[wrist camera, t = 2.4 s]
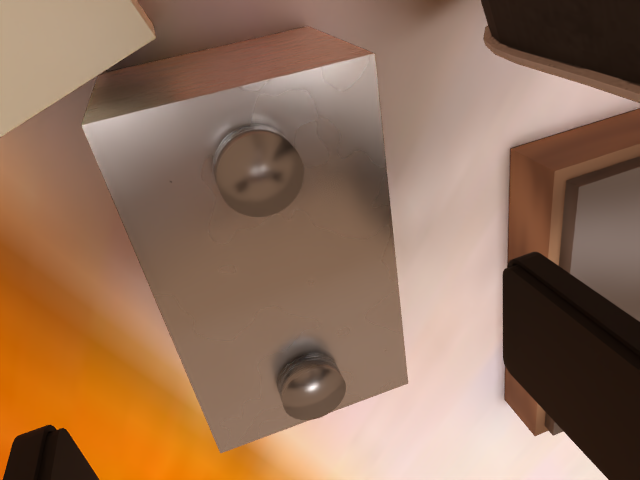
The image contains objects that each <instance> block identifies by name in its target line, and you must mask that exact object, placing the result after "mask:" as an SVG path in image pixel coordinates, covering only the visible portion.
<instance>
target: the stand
mask: <svg viewBox="0 0 640 480" xmlns="http://www.w3.org/2000/svg"><path fill="white" fill-rule="evenodd" d="M531 252H539V253H541V254H542V255H544V256H545V257H547V258H548V259H549V260H551V261H552V262H554V263H555V264H557V265H558V266H560V267H561V268H563V269H564V270H565V271H567V272H568V273H570V274H571V275H573V276H574V277H576V278H577V279H578V280H580V281H581V282H583V283H584V284H586V285H587V286H589V287H590V288H591V289H593V290H594V291H596V292H597V293H599V294H600V295H602V296H603V297H605V298H606V299H607V300H609V301H610V302H612V303H613V304H615V305H616V306H618V307H619V308H620V309H622V310H623V311H625V312H626V313H628V314H629V315H631V316H632V317H634V318H635V319H636V320H638V321H639V322H640V109H637V110H634V111H631V112H628V113H624V114H621V115H618V116H615V117H611V118H608V119H605V120H602V121H599V122H595V123H592V124H589V125H586V126H582V127H579V128H576V129H573V130H569V131H566V132H563V133H560V134H557V135H553V136H550V137H547V138H544V139H540V140H537V141H534V142H531V143H527V144H524V145H521V146H518V147H515V148H511V160H510V202H509V244H508V263H509V261H510V260H512V259H514V258H517V257H520V256H523V255H525V254H528V253H531ZM505 401H506V402H507V403H508V404H509V406H510V407H511V408H512V409H513V410H514V412H515V413H516V414H517V415H518V416H519V418H520V419H521V420H522V421H523V422H524V424H525V425H526V426H527V427H528V428H529V430H530V431H531V432H532V433H533V435H534V436H537V435H539V434H541V433H544V432H546V431H548V430H549V431H550V433H551V434H552V435H556V434H558V433H560V432H563V430H562V429H561V428H560V427H559V426H558V425H557V424H556V423H555V422H554V420H553V419H552V418H551V417H550V416H549V415H548V414H547V413H546V412H545V411H544V410H543V409H542V408H541V406H540V405H539V404H538V403H537V402H536V401H535V400H534V399H533V398H532V397H531V396H530V395H529V394H528V393H527V391H526V390H525V389H524V388H523V387H522V386H521V385H520V384H519V383H518V382H517V381H516V380H515V379H514V378H513V376H512V375H511V374H510V373H509V372H508V370H507V368H506V369H505Z"/></svg>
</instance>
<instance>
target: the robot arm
mask: <svg viewBox="0 0 640 480" xmlns="http://www.w3.org/2000/svg"><path fill="white" fill-rule="evenodd" d="M503 360H504V364H505V366H506V368H507V370H508V372H509V373H510V374H511V375H512V376H513V378H514V379H515V380H516V381H517V382H518V383H519V384H520V385H521V386H522V387H523V388H524V389H525V390H526V391H527V393H528V394H529V395H530V396H531V397H532V398H533V399H534V400H535V401H536V402H537V403H538V404H539V405H540V406H541V408H542V409H543V410H544V411H545V412H546V413H547V414H548V415H549V416H550V417H551V418H552V419H553V420H554V422H555V423H556V424H557V425H558V426H559V427H560V428H561V429H562V430H563V431H564V432H565V433H566V434H567V435H568V437H569V438H570V439H571V440H572V441H573V442H574V443H575V444H576V445H577V446H578V447H579V448H580V449H581V450H582V452H583V453H584V454H585V455H586V456H587V457H588V458H589V459H590V460H591V461H592V462H593V463H594V464H595V465H596V467H597V468H598V469H599V470H600V471H601V472H602V473H603V474H604V475H605V476H606V477H607V478H608V479H609V480H640V322H639V321H638V320H636V319H635V318H634V317H632V316H631V315H629V314H628V313H626V312H625V311H623V310H622V309H620V308H619V307H618V306H616V305H615V304H613V303H612V302H610V301H609V300H607V299H606V298H605V297H603V296H602V295H600V294H599V293H597V292H596V291H594V290H593V289H591V288H590V287H589V286H587V285H586V284H584V283H583V282H581V281H580V280H578V279H577V278H576V277H574V276H573V275H571V274H570V273H568V272H567V271H565V270H564V269H563V268H561V267H560V266H558V265H557V264H555V263H554V262H552V261H551V260H549V259H548V258H547V257H545V256H544V255H542V254H541V253H539V252H531V253H528V254H525V255H523V256H520V257H517V258H514V259H512V260H510V261H509V263H508V268H506V269H504V271H503ZM3 480H99V479H98V477H97V476H96V474H95V472H94V471H93V469H92V468H91V466H90V465H89V463H88V462H87V460H86V459H85V457H84V456H83V454H82V453H81V451H80V450H79V448H78V447H77V445H76V443H75V442H74V440H73V439H72V437H71V436H70V434H69V433H68V431H67V430H66V429H64V428H62V429H59V430H56V428H55V427H54V426H52V425H47V426H44V427H41V428H38V429H36V430H33V431H30V432H27V433H24V434H22V435H19V436H17V437H16V438H15V439H14V442H13V444H12V448H11V452H10V455H9V459H8V463H7V466H6V470H5V474H4V477H3Z"/></svg>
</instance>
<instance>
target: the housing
mask: <svg viewBox="0 0 640 480" xmlns="http://www.w3.org/2000/svg"><path fill="white" fill-rule="evenodd" d="M81 126H82V128H83V131H84V133H85V135H86V138H87V140H88V143H89V145H90V147H91V150H92V152H93V154H94V157H95V159H96V161H97V164H98V166H99V168H100V171H101V173H102V175H103V178H104V180H105V183H106V185H107V187H108V190H109V192H110V194H111V197H112V199H113V201H114V204H115V206H116V208H117V211H118V213H119V215H120V218H121V220H122V223H123V225H124V227H125V230H126V232H127V234H128V237H129V239H130V241H131V244H132V246H133V248H134V251H135V253H136V256H137V258H138V260H139V263H140V265H141V267H142V270H143V272H144V274H145V277H146V279H147V281H148V284H149V286H150V288H151V291H152V293H153V296H154V298H155V300H156V303H157V305H158V307H159V310H160V312H161V314H162V317H163V319H164V321H165V324H166V326H167V328H168V331H169V333H170V336H171V338H172V340H173V343H174V345H175V347H176V350H177V352H178V354H179V357H180V359H181V361H182V364H183V366H184V368H185V371H186V373H187V376H188V378H189V380H190V383H191V385H192V387H193V390H194V392H195V394H196V397H197V399H198V401H199V404H200V406H201V409H202V411H203V413H204V416H205V418H206V420H207V423H208V425H209V427H210V430H211V432H212V434H213V437H214V439H215V441H216V444H217V446H218V449H219V451H220V453H223V452H225V451H228V450H231V449H233V448H236V447H239V446H241V445H244V444H247V443H250V442H252V441H255V440H258V439H260V438H263V437H266V436H268V435H271V434H274V433H276V432H279V431H282V430H284V429H287V428H290V427H292V426H295V425H298V424H301V423H303V422H306V421H309V420H312V419H316V418H320V417H322V416H324V415H326V414H328V413H330V412H333V411H335V410H338V409H341V408H343V407H346V406H349V405H351V404H354V403H357V402H360V401H362V400H365V399H368V398H370V397H373V396H376V395H378V394H381V393H384V392H386V391H389V390H392V389H394V388H397V387H400V386H402V385H405V384H408V377H407V367H406V357H405V347H404V337H403V327H402V317H401V307H400V297H399V288H398V278H397V268H396V258H395V248H394V238H393V228H392V218H391V208H390V198H389V189H388V179H387V169H386V159H385V149H384V139H383V129H382V119H381V109H380V100H379V90H378V80H377V70H376V60H375V53H373V52H370V51H368V50H365V49H363V48H360V47H358V46H355V45H353V44H351V43H348V42H346V41H343V40H341V39H338V38H336V37H333V36H331V35H329V34H326V33H324V32H321V31H319V30H316V29H314V28H311V27H309V26H306V27H302V28H297V29H293V30H289V31H284V32H280V33H275V34H271V35H267V36H262V37H258V38H254V39H249V40H245V41H240V42H236V43H232V44H227V45H223V46H219V47H214V48H210V49H205V50H201V51H197V52H192V53H188V54H184V55H179V56H175V57H170V58H166V59H162V60H157V61H153V62H149V63H144V64H140V65H136V66H131V67H127V68H122V69H118V70H114V71H109V72H105V73H101V74H99V75H98V77H97V80H96V83H95V85H94V88H93V91H92V94H91V97H90V100H89V103H88V106H87V109H86V112H85V115H84V118H83V121H82V124H81Z"/></svg>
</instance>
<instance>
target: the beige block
mask: <svg viewBox="0 0 640 480" xmlns="http://www.w3.org/2000/svg"><path fill="white" fill-rule="evenodd" d="M155 38H156V36H155V31H154V27H153V24H152V22H151V21H150V19H149V18H148V16H147V15H146V13H145V12H144V10H143V9H142V7H141V6H140V4H139V3H138V1H137V0H0V137H2V136H3V135H5V134H6V133H8V132H10V131H11V130H13V129H14V128H16V127H17V126H19V125H21V124H22V123H24V122H25V121H27V120H28V119H30V118H32V117H33V116H35V115H36V114H38V113H39V112H41V111H43V110H44V109H46V108H47V107H49V106H50V105H52V104H54V103H55V102H57V101H58V100H60V99H61V98H63V97H64V96H66V95H68V94H69V93H71V92H72V91H74V90H75V89H77V88H79V87H80V86H82V85H83V84H85V83H86V82H88V81H90V80H91V79H93V78H94V77H96V76H97V75H99V74H101V73H102V72H104V71H105V70H107V69H108V68H110V67H111V66H113V65H115V64H116V63H118V62H119V61H121V60H122V59H124V58H126V57H127V56H129V55H130V54H132V53H133V52H135V51H137V50H138V49H140V48H141V47H143V46H144V45H146V44H148V43H149V42H151V41H152V40H154V39H155Z"/></svg>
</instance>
